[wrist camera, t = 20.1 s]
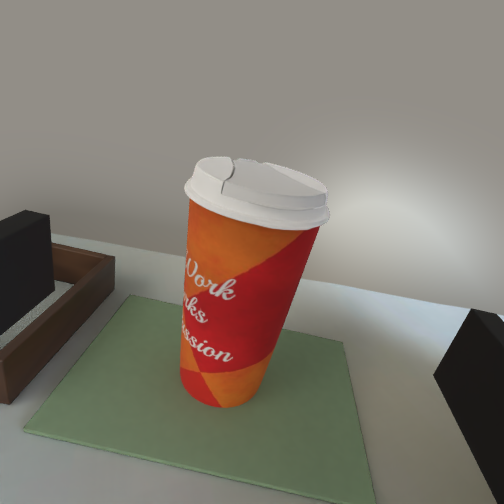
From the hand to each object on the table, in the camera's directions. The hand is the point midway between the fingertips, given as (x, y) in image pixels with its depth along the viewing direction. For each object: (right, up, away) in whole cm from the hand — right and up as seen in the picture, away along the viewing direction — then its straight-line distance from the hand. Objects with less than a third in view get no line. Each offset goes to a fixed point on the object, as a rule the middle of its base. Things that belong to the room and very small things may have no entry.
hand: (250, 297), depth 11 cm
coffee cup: (-2, -8, +14) cm, 16 cm away
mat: (-2, -8, +14) cm, 17 cm away
